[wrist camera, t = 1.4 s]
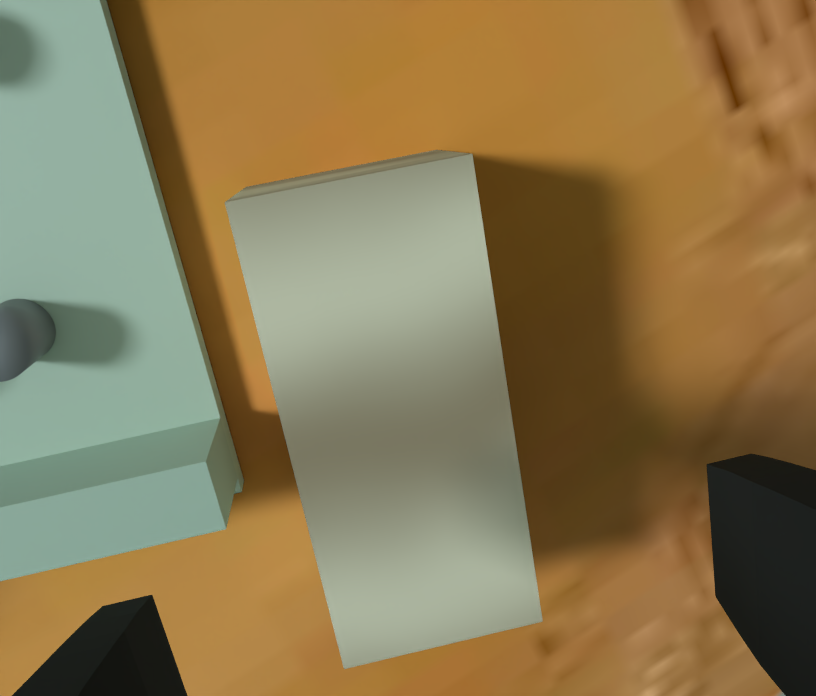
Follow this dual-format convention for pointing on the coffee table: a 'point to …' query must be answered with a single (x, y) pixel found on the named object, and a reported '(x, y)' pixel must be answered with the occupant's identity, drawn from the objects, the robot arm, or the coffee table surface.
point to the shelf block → (392, 398)
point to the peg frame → (93, 313)
